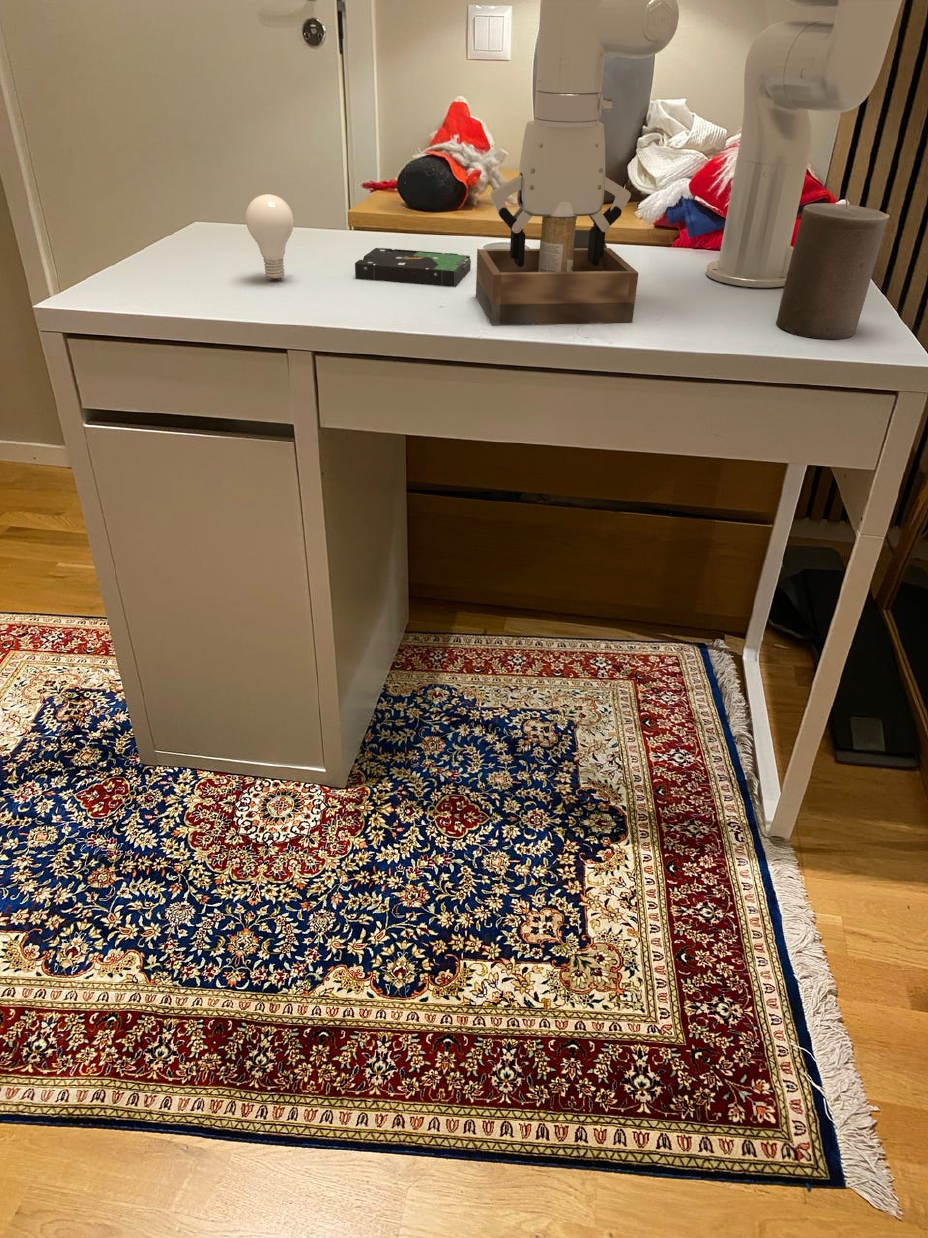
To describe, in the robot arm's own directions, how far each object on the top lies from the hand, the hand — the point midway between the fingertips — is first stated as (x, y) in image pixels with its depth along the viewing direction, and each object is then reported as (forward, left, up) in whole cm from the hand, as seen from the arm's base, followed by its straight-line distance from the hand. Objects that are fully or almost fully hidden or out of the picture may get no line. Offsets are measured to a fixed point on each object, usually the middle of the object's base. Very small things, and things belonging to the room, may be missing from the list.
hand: (555, 263), depth 114 cm
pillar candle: (-32, +10, -6) cm, 34 cm away
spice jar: (0, 0, -6) cm, 6 cm away
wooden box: (0, 0, -6) cm, 6 cm away
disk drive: (+16, -18, -6) cm, 26 cm away
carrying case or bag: (-10, -29, -6) cm, 31 cm away
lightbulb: (+36, -16, -6) cm, 40 cm away
